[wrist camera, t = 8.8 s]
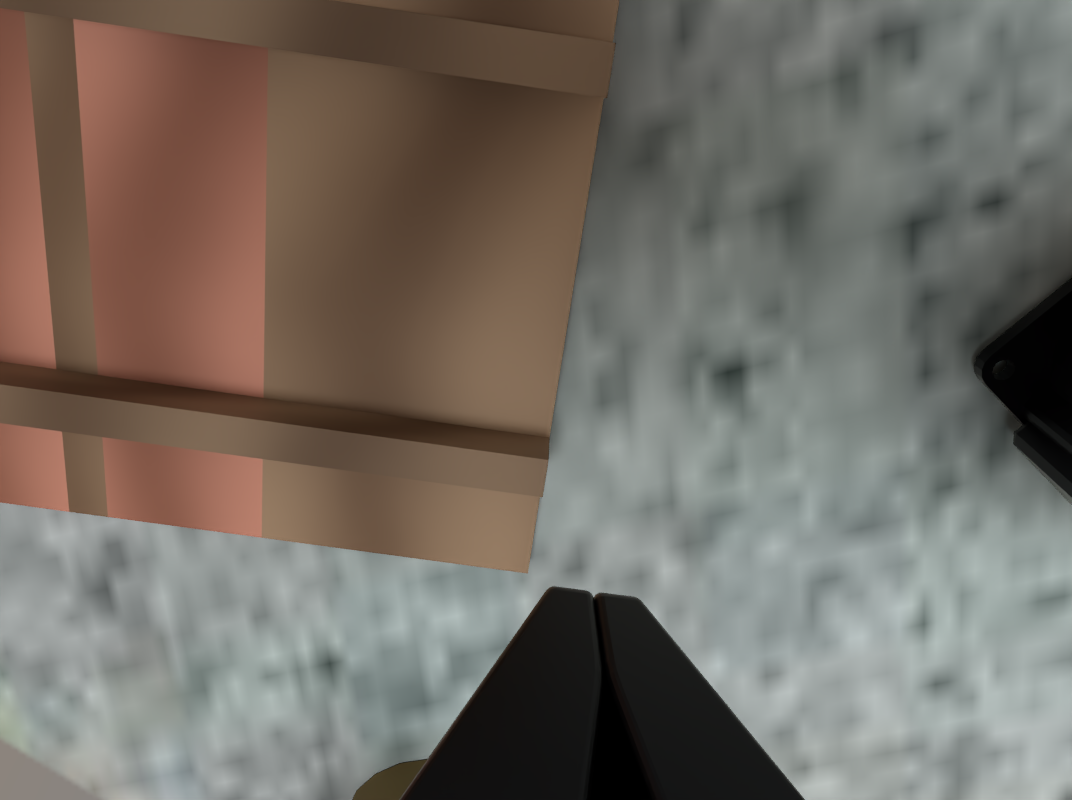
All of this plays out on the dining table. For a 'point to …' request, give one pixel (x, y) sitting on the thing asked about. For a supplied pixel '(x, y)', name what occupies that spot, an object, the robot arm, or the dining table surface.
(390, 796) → the olive bell shape
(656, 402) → the dining table surface
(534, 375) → the board
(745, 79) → the dining table surface
